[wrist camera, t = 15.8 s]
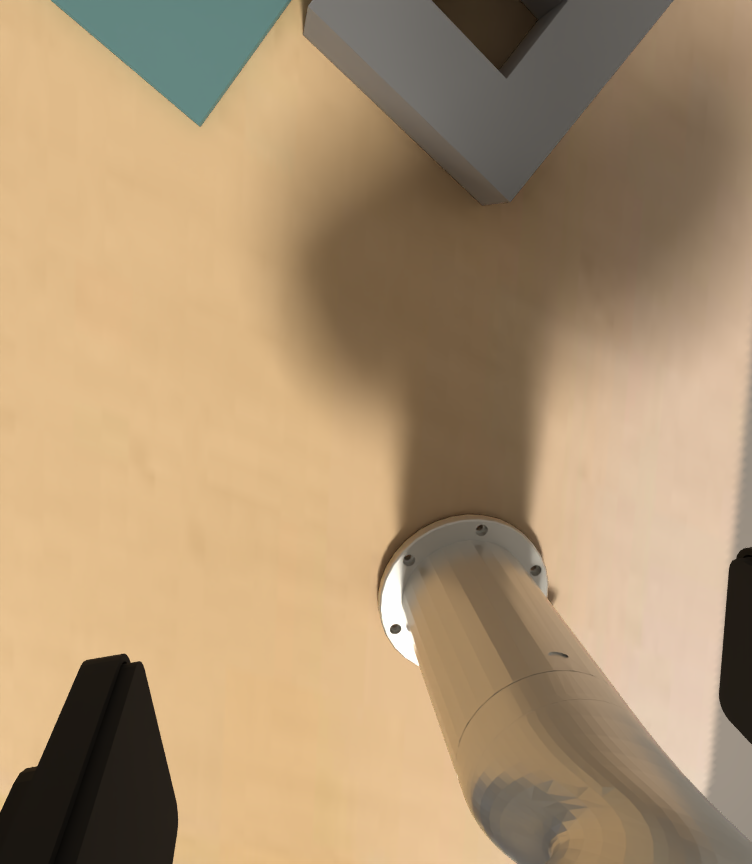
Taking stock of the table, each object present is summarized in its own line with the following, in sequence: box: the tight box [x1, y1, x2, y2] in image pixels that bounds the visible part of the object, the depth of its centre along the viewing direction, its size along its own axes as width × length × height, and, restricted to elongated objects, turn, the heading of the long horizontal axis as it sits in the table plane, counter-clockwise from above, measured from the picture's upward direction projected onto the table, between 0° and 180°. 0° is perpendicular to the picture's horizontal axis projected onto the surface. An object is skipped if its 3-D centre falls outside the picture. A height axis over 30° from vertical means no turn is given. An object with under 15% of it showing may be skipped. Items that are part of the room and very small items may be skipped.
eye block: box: [303, 0, 673, 205], centre depth 35 cm, size 14×14×5 cm
